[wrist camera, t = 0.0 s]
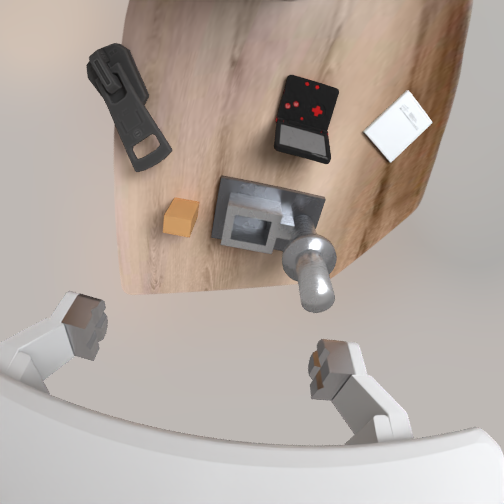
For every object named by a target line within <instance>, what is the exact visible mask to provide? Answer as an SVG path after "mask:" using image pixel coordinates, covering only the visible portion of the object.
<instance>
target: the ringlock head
mask: <svg viewBox="0 0 504 504" xmlns="http://www.w3.org/2000/svg"><path fill="white" fill-rule="evenodd" d="M325 200H326V199H325V197H322V196H318V195H314V194H309V193H305V192H300V191H296V190H291V189H287V188H282V187H278V186H273V185H268V184H263V183H258V182H253V181H248V180H243V179H238V178H233V177H227V176H222V177H221V182H220V188H219V193H218V199H217V205H216V211H215V217H214V223H213V229H212V236H211V238H217V239H222V241H221V245H225V246H231V247H236V248H242V249H247V250H252V251H258V252H263V253H268V254H272V252H273V249H276V250H281V251H283V254H282V264H283V269H284V271H285V273H286V274H287V275H288V276H289V277H290V278H292V279H293V280H295V281H298V284H299V291H300V298H301V304H302V307H303V308H304V309H305V310H307V311H309V312H313V313H318V312H323V311H325V310H327V309H329V308H330V307H331V306H332V305H333V303H334V301H335V295H334V292H333V288H332V284H331V281H330V277H329V274H330V273H331V272H332V270H333V269H334V267H335V264H336V252H335V249H334V247H333V245H332V243H331V242H330V241H329V240H328V239H327V238H325V237H323V236H321V235H318V234H317V233H316V230H315V229H316V226H317V224H318V221H319V218H320V215H321V212H322V209H323V206H324V203H325Z"/></svg>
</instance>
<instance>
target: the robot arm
mask: <svg viewBox="0 0 504 504" xmlns="http://www.w3.org/2000/svg"><path fill="white" fill-rule="evenodd" d="M105 308H106V307H105V302H104V301H103V300H101V299H97V298H93V297H90V296H87V295H83V294H79V293H76V292H72V291H68V292H67V293H66V294H65V295H64V297H63V298H62V300H61V301H60V303H59V304H58V306H57V307H56V309H55V310H54V312H53V314H52V315H51V317H50V318H49V319H48V318H45V319H43V320H41V321H40V322H38V323H36V324H34V325H32V326H30V327H28V328H26V329H24V330H22V331H21V332H19V333H17V334H15V335H13V336H11V337H9V338H8V339H6V340H4V341H2V342H1V343H0V504H504V456H503V453H502V450H501V448H500V446H499V445H498V444H497V443H496V442H495V441H494V440H493V439H492V438H491V437H490V436H489V435H488V434H487V433H486V432H485V431H484V430H483V429H481V428H479V427H474V428H468V429H464V430H460V431H455V432H451V433H446V434H441V435H435V436H429V437H422V438H416V439H414V437H413V433H412V430H411V425H410V422H409V418H408V414H407V412H406V411H405V410H404V409H403V408H402V407H401V406H400V405H399V404H398V403H397V402H396V401H395V400H394V399H393V398H392V397H391V396H390V395H389V394H388V393H387V392H386V391H385V390H384V389H383V388H382V387H381V386H380V385H379V384H378V382H377V381H376V380H375V379H374V378H373V377H372V376H369V375H367V371H366V368H365V364H364V361H363V357H362V353H361V350H360V346H359V344H358V343H357V342H345V341H336V340H326V339H321V340H320V341H319V342H318V344H317V351H315V352H313V354H312V355H311V357H310V360H309V365H308V372H309V376H310V377H311V379H312V380H313V381H312V382H311V384H310V390H311V399H317V400H331V401H332V403H333V404H334V406H335V407H336V409H337V410H338V412H339V413H340V414H341V416H342V417H343V419H344V420H345V422H346V423H347V424H348V426H349V427H350V429H351V430H352V431H353V433H354V434H355V435H354V436H353V437H352V438H351V439H350V440H349V441H347V442H346V443H345V445H325V446H306V445H279V444H263V443H251V442H241V441H231V440H224V439H217V438H209V437H203V436H197V435H191V434H185V433H180V432H175V431H170V430H165V429H160V428H156V427H152V426H147V425H143V424H139V423H135V422H131V421H127V420H124V419H120V418H117V417H113V416H110V415H107V414H103V413H100V412H97V411H94V410H91V409H87V408H85V407H82V406H79V405H76V404H73V403H70V402H68V401H65V400H62V399H60V398H57V397H55V396H52V395H50V393H49V391H48V389H47V387H46V385H45V384H44V382H43V381H44V380H45V379H46V378H48V377H49V376H50V375H51V374H53V373H54V372H55V371H57V370H58V369H59V368H60V367H62V366H63V365H64V364H66V363H67V362H68V361H69V360H71V359H72V358H73V357H74V356H78V357H81V358H85V359H88V360H92V361H94V359H95V357H96V354H97V352H98V350H99V344H98V342H99V341H101V340H103V339H104V336H105V334H106V330H107V323H108V320H107V316H106V314H105V313H104V310H105Z"/></svg>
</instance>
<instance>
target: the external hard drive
mask: <svg viewBox="0 0 504 504" xmlns="http://www.w3.org/2000/svg"><path fill="white" fill-rule="evenodd" d="M431 123H432V121H431V120H430V118H429V117H428V115H427V114H426V113H425V111H424V110H423V109H422V107H421V106H420V105H419V103H418V102H417V101H416V99H415V98H414V97H413V95H412V94H411V93H410V92H409V91H407V90H406V91H405V92H404V93H403V94H402V95H401V96H400V97H399V98H398V99H397V100H396V101H395V102H394V103H392V104H391V105H390V106H389V107H388V108H387V109H386V110H385V111H384V112H383V113H382V114H381V115H380V116H379V117H378V118H377V119H375V120H374V121H373V122H372V123H371V124H370V125H369V126H368V127H367V128H366V129H365V130H364V131H363V132H364V133H365V134H366V135H367V137H368V138H369V139H370V140H371V141H372V142H373V143H374V144H375V146H376V147H377V148H378V149H379V150H380V151H381V153H382V154H383V155H384V156H385V157H386V159H387V160H388V161H389V162H390V163H391V162H392V161H393V160H394V159H395V158H396V157H397V156H398V155H399V154H400V153H401V152H402V151H403V150H405V149H406V148H407V147H408V146H409V145H410V144H411V143H412V142H413V141H414V140H415V139H416V138H417V137H418V136H419V135H420V134H421V133H422V132H423V131H424V130H425V129H426V128H427V127H428V126H429V125H430V124H431Z"/></svg>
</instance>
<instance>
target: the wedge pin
mask: <svg viewBox="0 0 504 504" xmlns="http://www.w3.org/2000/svg"><path fill="white" fill-rule="evenodd" d="M198 208H199V202H197V201H192V200H186V199H180V198H174V200H173V201H172V203H171V205H170V206H169V208H168V210H167V211H166V213H165V215H164V223H163V233H168V234H173V235H179V236H184V237H190V235H191V232H192V230H193V227H194V225H195V222H196V219H197V216H198Z"/></svg>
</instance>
